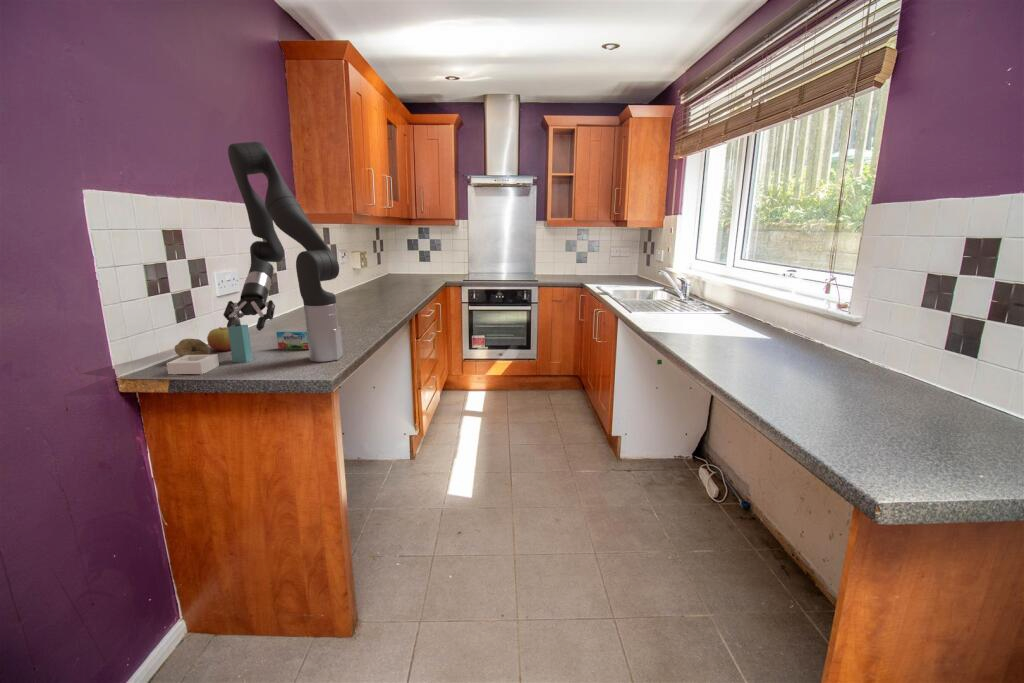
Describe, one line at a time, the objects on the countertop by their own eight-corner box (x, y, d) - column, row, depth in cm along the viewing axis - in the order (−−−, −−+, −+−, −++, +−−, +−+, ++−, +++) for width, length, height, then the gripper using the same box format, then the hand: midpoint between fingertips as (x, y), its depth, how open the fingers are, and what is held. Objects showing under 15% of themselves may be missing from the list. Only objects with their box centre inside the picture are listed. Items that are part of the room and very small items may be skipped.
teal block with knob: (252, 358, 147) (246, 318, 145) (246, 362, 144) (240, 320, 141) (239, 359, 147) (233, 318, 144) (233, 362, 143) (226, 320, 140)
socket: (219, 365, 140) (217, 354, 139) (202, 374, 131) (200, 362, 131) (187, 366, 140) (185, 355, 139) (168, 375, 131) (166, 363, 130)
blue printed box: (278, 349, 160) (276, 331, 158) (281, 348, 161) (278, 330, 160) (311, 350, 158) (309, 332, 157) (314, 349, 160) (312, 331, 158)
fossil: (169, 346, 140) (191, 332, 149) (163, 356, 141) (186, 342, 150) (196, 364, 142) (217, 349, 151) (191, 373, 144) (211, 358, 153)
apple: (202, 353, 156) (198, 329, 154) (221, 346, 165) (218, 323, 163) (230, 353, 155) (226, 329, 153) (248, 346, 164) (245, 323, 163)
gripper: (228, 281, 152) (215, 323, 143) (274, 281, 153) (263, 322, 144) (239, 295, 158) (226, 336, 150) (282, 295, 159) (272, 335, 151)
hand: (244, 329), depth 147 cm, fingers open, 8 cm apart
